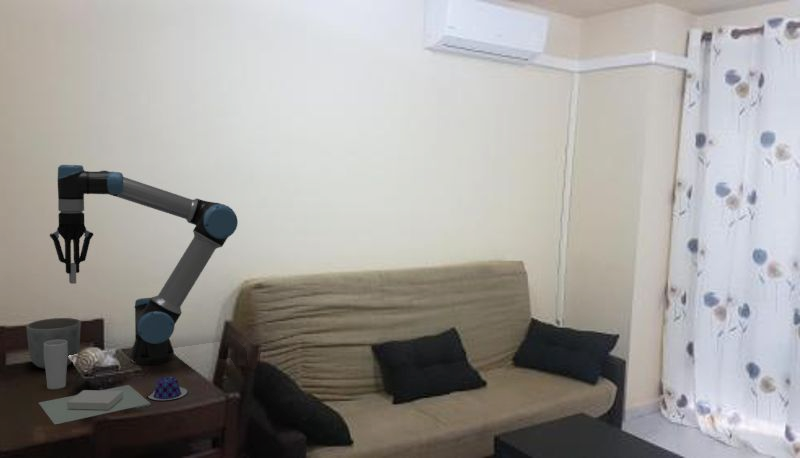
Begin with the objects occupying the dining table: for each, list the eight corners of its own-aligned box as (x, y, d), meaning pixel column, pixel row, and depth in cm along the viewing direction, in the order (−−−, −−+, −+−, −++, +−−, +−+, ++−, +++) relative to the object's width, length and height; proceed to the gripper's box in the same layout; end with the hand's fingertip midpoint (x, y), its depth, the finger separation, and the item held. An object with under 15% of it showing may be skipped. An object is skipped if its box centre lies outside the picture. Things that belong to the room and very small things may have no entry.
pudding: (170, 404, 191) (169, 388, 190) (138, 398, 195) (138, 382, 194) (195, 392, 202) (195, 376, 202) (164, 386, 206) (164, 371, 206)
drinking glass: (39, 389, 200) (38, 343, 198) (59, 383, 206) (58, 338, 204) (53, 393, 197) (52, 346, 195) (73, 386, 203) (72, 341, 201)
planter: (69, 355, 235) (68, 315, 234) (90, 365, 224) (89, 323, 223) (19, 365, 222) (18, 323, 220) (39, 376, 211) (38, 332, 210)
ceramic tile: (66, 402, 182) (108, 403, 183) (83, 390, 192) (122, 391, 193) (67, 409, 183) (108, 410, 183) (83, 397, 193) (123, 398, 193)
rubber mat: (128, 386, 204) (128, 384, 204) (150, 405, 189) (150, 403, 189) (38, 404, 187) (38, 402, 187) (54, 426, 172) (54, 424, 172)
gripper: (89, 210, 213) (90, 279, 215) (46, 211, 204) (48, 283, 206) (96, 212, 207) (97, 282, 209) (51, 213, 199) (53, 286, 201)
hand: (72, 282), depth 208 cm, fingers closed
